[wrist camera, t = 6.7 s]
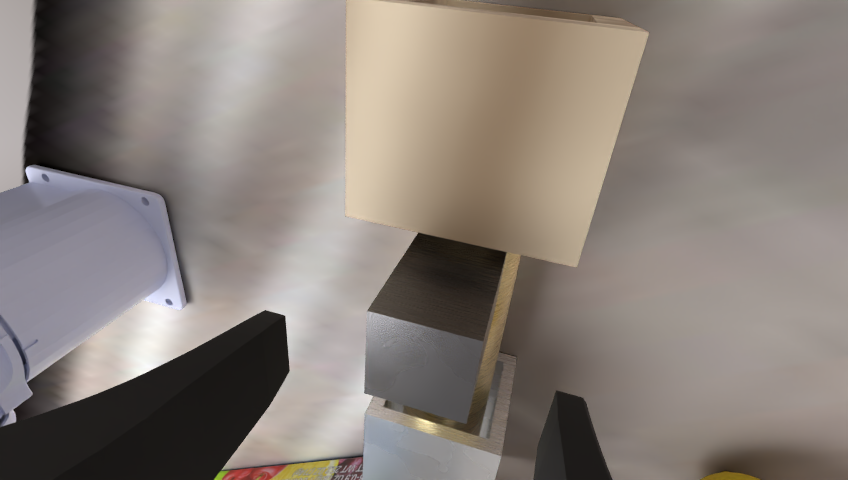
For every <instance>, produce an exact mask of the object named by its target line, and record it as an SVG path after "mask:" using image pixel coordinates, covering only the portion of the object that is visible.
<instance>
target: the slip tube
mask: <svg viewBox="0 0 848 480" xmlns="http://www.w3.org/2000/svg"><path fill="white" fill-rule="evenodd" d="M520 258H521V255H518V254H513V253H509V252H504V251H500V250H495V249H491V248H486V247H482V246H477V245H473V244H468V243H464V242H459V241H455V240H450V239H446V238H441V237H437V236H432V235H428V234H423V233H418V234H417V236H416V237H415V239H414V240H413V242H412V243H411V245H410V246H409V248H408V249H407V251H406V253H405V254H404V256H403V257H402V259H401V260H400V262H399V263H398V265H397V266H396V268H395V269H394V271H393V272H392V274H391V275H390V277H389V279H388V280H387V282H386V283H385V285H384V286H383V288H382V289H381V291H380V292H379V294H378V295H377V297H376V298H375V300H374V301H373V303H372V304H371V306H370V308H369V309H368V311H367V333H366V361H365V390H364V393H365V394H369V395H372V396H375V397H379V398H382V399H385V400H389V401H392V402H395V403H398V404H402V405H403V413H404V414H407V415H410V416H414V417H417V418H420V419H423V420H427V421H430V422H433V423H436V424H440V425H443V426H446V427H449V428H453V429H456V430H459V431H462V432H466V433H469V434H472V435H475V436H479V435H480V431H481V427H482V423H483V418H484V414H485V410H486V405H487V401H488V397H489V392H490V388H491V384H492V379H493V375H494V371H495V366H496V362H497V358H498V354H499V349H500V345H501V341H502V336H503V332H504V328H505V323H506V319H507V315H508V310H509V306H510V302H511V297H512V293H513V289H514V284H515V280H516V276H517V271H518V267H519V263H520Z"/></svg>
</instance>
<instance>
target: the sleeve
mask: <svg viewBox="0 0 848 480" xmlns="http://www.w3.org/2000/svg"><path fill="white" fill-rule="evenodd" d="M516 361H517V357H514V356H511V355H507V354H503V353H499V354H498V358H497V362H496V366H495V371H494V375H493V379H492V384H491V388H490V392H489V397H488V401H487V405H486V410H485V414H484V418H483V423H482V427H481V431H480V435H479V436H475V435H472V434H469V433H466V432H462V431H459V430H456V429H453V428H449V427H446V426H443V425H440V424H436V423H433V422H430V421H427V420H423V419H420V418H417V417H414V416H410V415H407V414H404V413H403V405H402V404H398V403H395V402H392V401H389V400H385V399H382V398H379V397H375V396H373V398H372V400H371V402H370V404H369V406H368V408H367V410H366V412H365V423H364V450H363V477H362V480H495V478H496V474H497V470H498V467H499V463H500V460H501V456H502V449H503V443H504V437H505V430H506V424H507V418H508V411H509V405H510V399H511V392H512V386H513V380H514V373H515V367H516Z"/></svg>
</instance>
